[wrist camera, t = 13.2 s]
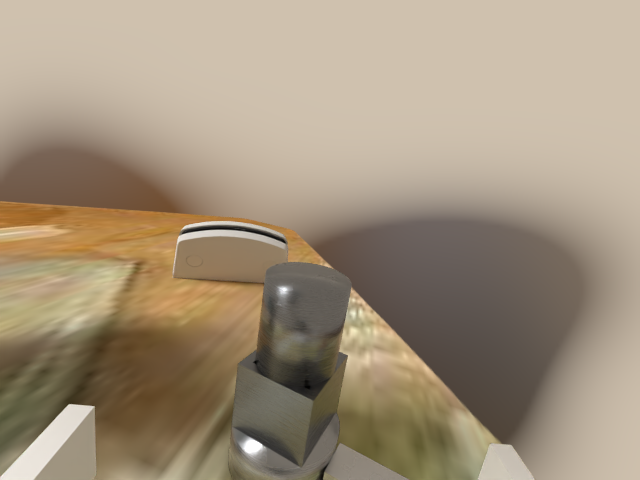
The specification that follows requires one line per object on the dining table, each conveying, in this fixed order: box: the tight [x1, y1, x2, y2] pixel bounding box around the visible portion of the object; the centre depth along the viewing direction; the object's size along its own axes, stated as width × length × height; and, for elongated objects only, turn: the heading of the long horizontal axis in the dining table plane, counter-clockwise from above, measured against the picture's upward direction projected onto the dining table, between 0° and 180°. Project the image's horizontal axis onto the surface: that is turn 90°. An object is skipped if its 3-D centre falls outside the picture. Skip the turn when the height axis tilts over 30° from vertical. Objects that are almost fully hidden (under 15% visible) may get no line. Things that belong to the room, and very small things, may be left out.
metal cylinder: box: [232, 262, 352, 468], centre depth 20 cm, size 5×5×10 cm
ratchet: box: [229, 387, 409, 480], centre depth 19 cm, size 20×7×6 cm, turn 64°
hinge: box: [173, 221, 288, 283], centre depth 48 cm, size 17×5×10 cm, turn 102°
